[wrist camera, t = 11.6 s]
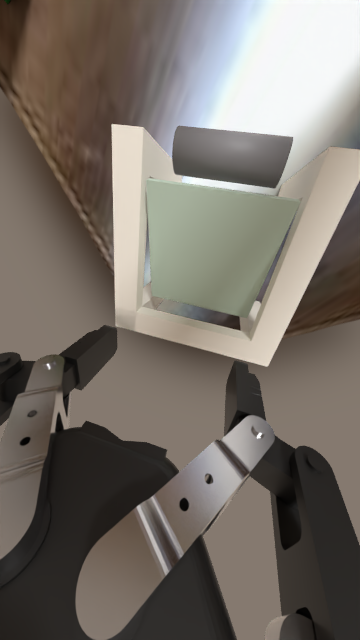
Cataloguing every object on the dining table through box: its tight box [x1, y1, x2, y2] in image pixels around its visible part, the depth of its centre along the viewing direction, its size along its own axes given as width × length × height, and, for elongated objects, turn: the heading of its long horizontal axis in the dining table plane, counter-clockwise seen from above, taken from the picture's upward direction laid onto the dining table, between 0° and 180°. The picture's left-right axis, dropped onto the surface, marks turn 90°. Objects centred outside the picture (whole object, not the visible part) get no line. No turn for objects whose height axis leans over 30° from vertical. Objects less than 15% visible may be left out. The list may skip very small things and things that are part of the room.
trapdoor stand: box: [112, 124, 360, 366], centre depth 27 cm, size 21×21×16 cm
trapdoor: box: [146, 126, 301, 318], centre depth 22 cm, size 18×14×5 cm
